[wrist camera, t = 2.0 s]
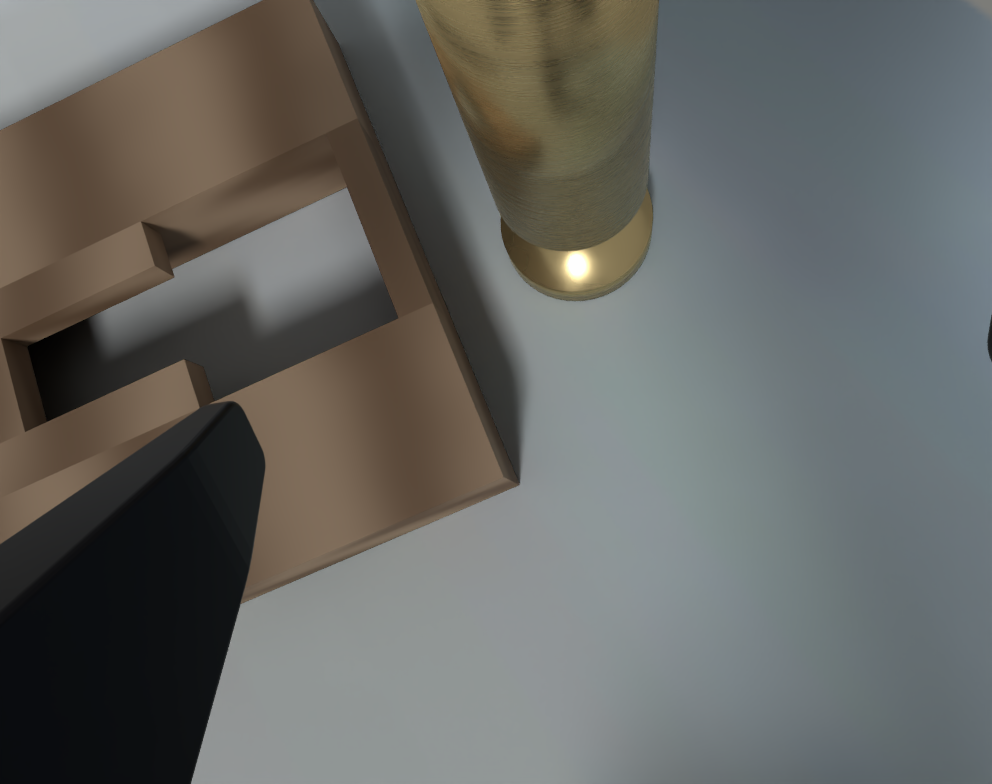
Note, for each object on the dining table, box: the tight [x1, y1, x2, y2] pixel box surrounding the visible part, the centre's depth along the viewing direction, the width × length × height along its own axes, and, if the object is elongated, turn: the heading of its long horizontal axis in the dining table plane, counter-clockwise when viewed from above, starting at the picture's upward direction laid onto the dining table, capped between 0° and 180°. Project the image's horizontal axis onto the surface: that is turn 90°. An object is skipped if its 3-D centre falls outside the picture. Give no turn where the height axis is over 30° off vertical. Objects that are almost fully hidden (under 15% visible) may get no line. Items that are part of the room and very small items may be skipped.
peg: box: [416, 0, 659, 301], centre depth 17 cm, size 4×4×14 cm
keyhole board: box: [0, 0, 520, 604], centre depth 23 cm, size 16×16×3 cm
